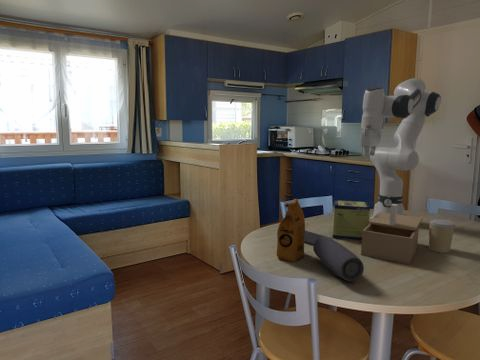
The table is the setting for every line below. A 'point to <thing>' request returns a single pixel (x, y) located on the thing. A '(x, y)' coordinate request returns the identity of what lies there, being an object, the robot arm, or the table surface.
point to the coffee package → (291, 233)
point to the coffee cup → (440, 235)
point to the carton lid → (396, 220)
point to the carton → (389, 243)
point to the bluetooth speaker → (338, 259)
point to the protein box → (350, 219)
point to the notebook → (311, 238)
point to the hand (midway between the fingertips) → (369, 156)
